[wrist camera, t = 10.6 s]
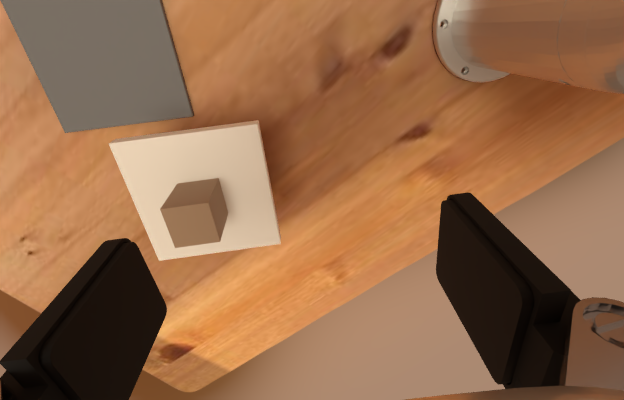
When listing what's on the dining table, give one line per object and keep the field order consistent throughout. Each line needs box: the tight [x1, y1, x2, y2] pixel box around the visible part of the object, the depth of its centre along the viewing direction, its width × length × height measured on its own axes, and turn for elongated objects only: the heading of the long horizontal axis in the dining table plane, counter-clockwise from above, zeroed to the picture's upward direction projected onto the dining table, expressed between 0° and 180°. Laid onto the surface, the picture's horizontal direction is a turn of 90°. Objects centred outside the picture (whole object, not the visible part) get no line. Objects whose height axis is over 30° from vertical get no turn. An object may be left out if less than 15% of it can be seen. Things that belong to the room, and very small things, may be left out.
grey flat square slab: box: [1, 0, 194, 133], centre depth 32 cm, size 14×14×1 cm
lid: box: [109, 120, 281, 261], centre depth 27 cm, size 12×12×6 cm
